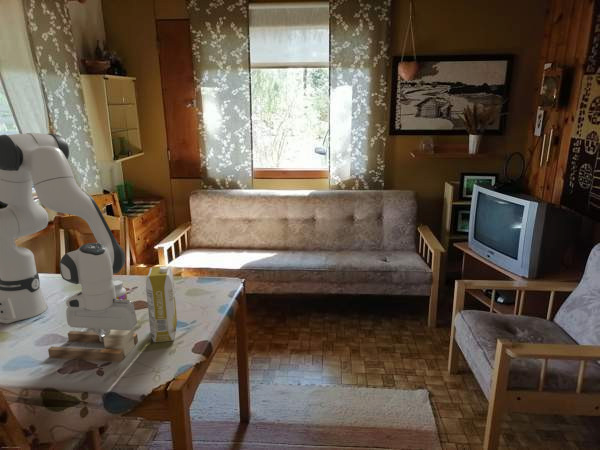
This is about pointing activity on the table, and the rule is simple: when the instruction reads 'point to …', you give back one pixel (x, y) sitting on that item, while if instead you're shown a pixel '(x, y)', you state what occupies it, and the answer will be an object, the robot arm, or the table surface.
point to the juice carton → (161, 304)
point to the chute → (87, 353)
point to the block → (120, 341)
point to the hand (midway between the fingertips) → (104, 340)
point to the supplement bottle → (120, 290)
